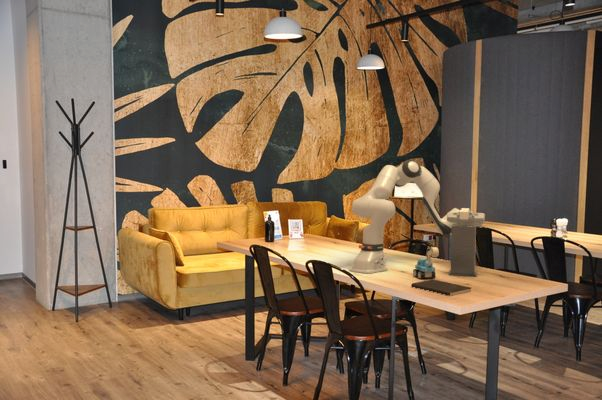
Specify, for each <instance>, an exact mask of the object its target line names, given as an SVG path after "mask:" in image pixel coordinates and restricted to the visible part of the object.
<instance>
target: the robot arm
mask: <svg viewBox="0 0 602 400" xmlns="http://www.w3.org/2000/svg"><path fill="white" fill-rule="evenodd" d="M410 182H412V183H414V184H415V185H416V186H417V188H418V189H419V191H420V192H421V194H422V199H421V201H422V204H423V206H424V208H425V210H426V211H427V213H428V214H429V216H430V218H431V220H432V221H433V223H434V225H435V227H436V230H437V232H438V233H439V234H441V235H442V236H450V235H451V234H452V225H453V224H454V225H476V229H479V228H480V229H481V228H483V225H484V223H485V221H486V220H485V219H486V218H485V217H486V214H485V213H483V212H474V211H473V210H470V211H469V218H468V219H460V211H461V209H462V208H460V207H454V208H452V209H451V210H450V211H448V212H447V213H446V215H444V216H443V217H442V218H441V217H440V215H439V213H438V212H437V210H436V207H435V201H436V199H437V197H438V195H439V193H440V191H441V186H440V185H441V184H440V182H439V181H438V179H437V178H436V177H435V176H434V174H433V173H432V172H431V171H430V170H428V169H427V168H426V167H424V166H423V165H420V164H419V163H418V162H417V161H415V160H413V159H408V160H406V161H404V162H403V163H401V164H400V165H399V166H397V167H396V166H395V165H391V164H387V165H385V166H383V167H382V168H381V170H380V172H379V173H378V175H377V177H376V179H375V181H374V183H373V185H372V186H371V187H370V189H369V190H367V192H366V193H365V194H363V195H362V196H361V197H359V198H356V199H354V201H352V204H351V211H352V213H353V214H354V216H356V217H359V218H365V219H371V222H370V224H368V225H366V226H365V227H364V228H363V230H362V243H361V244H358V249H360V252H359V253H358V254H357V256H355V258H354V260H353V266H352V267H350V268H348V269H349V272H353V273H359V274H374V273H379V272H385V271H388V267H387V264H386V263H387V262H386V254H385V253H384V248H385V244H384V230H385V226H386V225H387V223H388V221H389V220H390V219H392V218H393V217H394V216H395V214H396V205H395V203H394V202H393V201H391V200H388V199H389V198H390V196H392V195H391V194H392V193H393V190H394V188H395V187H396V188H401V187H404V186H406V185H407V184H409V183H410Z"/></svg>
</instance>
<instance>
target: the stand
mask: <svg viewBox="0 0 602 400" xmlns="http://www.w3.org/2000/svg"><path fill="white" fill-rule="evenodd" d="M450 235H451V240H450V241H451V242H450V243H451V244H450V247H451V248H450V269H449V271H448V275H447V276H451V277H452V276H454V277H470V278H471V277H472V278H474V277H475V278H476V277H477V274H478V272H477V271H476V243H477V242H476V239H477V238H476V236H477V228H476V225H454V224H453V225H452V233H451V234H450Z"/></svg>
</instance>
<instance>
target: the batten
mask: <svg viewBox="0 0 602 400" xmlns="http://www.w3.org/2000/svg"><path fill="white" fill-rule="evenodd" d="M469 211H471V210H470V208H468V207H467V208H466V207H462V208H461V211H460V219H468V218H469Z"/></svg>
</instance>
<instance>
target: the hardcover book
mask: <svg viewBox="0 0 602 400" xmlns="http://www.w3.org/2000/svg"><path fill="white" fill-rule="evenodd" d="M411 286H412V287H411V288H413V287H415V288H414V289H417V288H420V289H419V290H421V289H424V290H423V291H426V290H429V291H428V292H430V291H433V292H432V293H434V292H437V293H436V294H438V293H441V294H440V295H443V294H445V295H444V296H447V295H449V296H448V297H451V296H450V295H452V296H455V295H454V294H456V295H460V294H459V293H461V294H465V293H469V292H468V291H470V292H471V291H472V290H471V289H472V287H470V286H465V285H461V284H457V283H456V284H455V283H452V282H447V281H442V280H439V279H435V278H432V279H427V280H423V281H422V280H421V281H417V282H412V283H411ZM464 292H465V293H464Z"/></svg>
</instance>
